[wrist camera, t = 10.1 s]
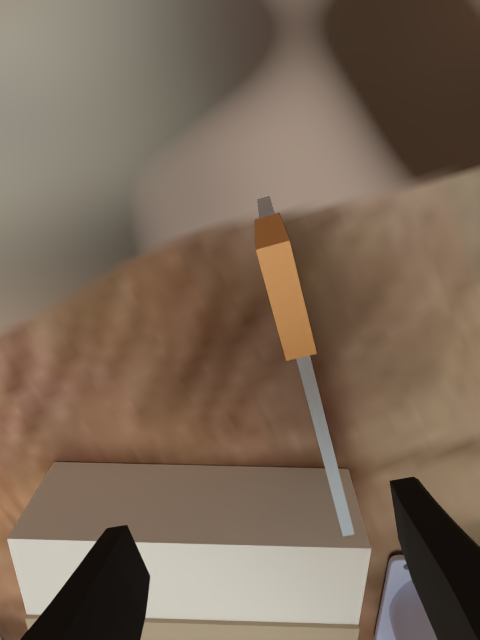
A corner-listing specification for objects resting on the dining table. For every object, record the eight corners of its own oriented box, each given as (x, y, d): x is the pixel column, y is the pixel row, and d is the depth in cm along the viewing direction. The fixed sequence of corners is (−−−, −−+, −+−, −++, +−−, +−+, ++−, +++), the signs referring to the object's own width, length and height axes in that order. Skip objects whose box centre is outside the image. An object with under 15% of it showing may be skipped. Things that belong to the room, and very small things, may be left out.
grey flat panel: (338, 460, 23) (384, 630, 15) (323, 463, 23) (360, 633, 15) (272, 195, 18) (289, 241, 10) (254, 200, 18) (255, 249, 10)
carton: (348, 468, 24) (372, 552, 19) (329, 617, 28) (344, 714, 24) (53, 461, 24) (4, 542, 19) (82, 609, 29) (47, 704, 24)
